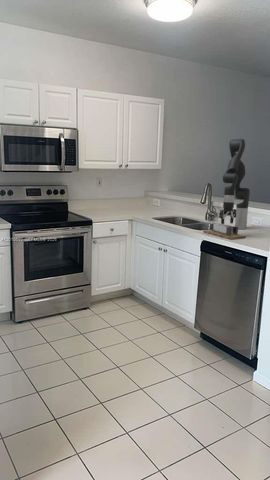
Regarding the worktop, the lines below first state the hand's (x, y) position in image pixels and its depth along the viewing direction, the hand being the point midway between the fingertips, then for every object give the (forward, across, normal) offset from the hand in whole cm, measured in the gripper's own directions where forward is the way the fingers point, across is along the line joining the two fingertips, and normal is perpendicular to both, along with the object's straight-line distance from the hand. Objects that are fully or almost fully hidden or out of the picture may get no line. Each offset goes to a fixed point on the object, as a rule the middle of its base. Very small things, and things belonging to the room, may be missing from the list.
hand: (227, 223), depth 282 cm
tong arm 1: (+7, -2, +3) cm, 8 cm away
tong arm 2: (+7, +3, +3) cm, 8 cm away
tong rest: (+9, 0, +3) cm, 10 cm away
